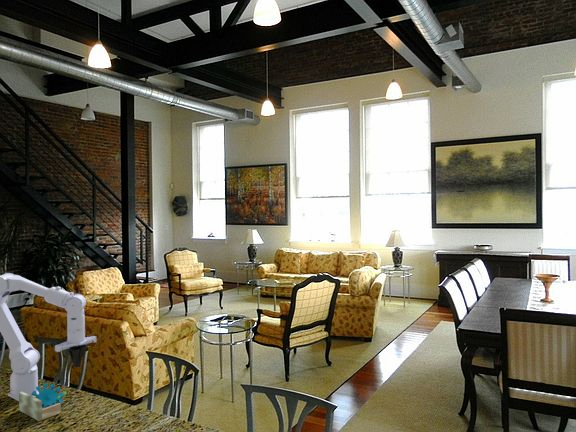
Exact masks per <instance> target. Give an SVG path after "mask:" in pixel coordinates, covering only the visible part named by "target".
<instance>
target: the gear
mask: <svg viewBox="0 0 576 432" xmlns="http://www.w3.org/2000/svg"><path fill="white" fill-rule="evenodd" d="M48 385H49V383H47V382H45V383H43V385H42V386H41V385H38V386H37V387H36V390H38V392H39V394H37V393H36V391H33V392H32V394H31V395H33V396H36V397H37V398H38V399H39V400H41V401H42V409H44V408H46V407H49V406H52V405H55V404H58V403H61V404H62V403H63V401H64V400H63V398H64V397H66V395H67V391H63V392H61V386H60V387H59V386H58V387H57V388H55V387H56V384H54V383H51V384H50V386H49V387H48ZM42 387H43V390H42V389H41V388H42ZM47 387H48V388H47ZM54 388H55V389H54ZM59 392H61V393H59Z"/></svg>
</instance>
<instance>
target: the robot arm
mask: <svg viewBox="0 0 576 432" xmlns="http://www.w3.org/2000/svg"><path fill="white" fill-rule="evenodd" d="M16 291H24V292H27V293H30V294H32V295H36V296H39V297H42V298H44V301H45V302H46V303H49V304H51V305H54V306H57V307H59V308H62V309H64V310H65V311H66V316H67V317H66V318H67V319H66V320H67V321H66V323H67V328H66V330H67V340H66V341H65V342H62V343H60V344H55V345H54V352H57V353H60V352H61V351H64V350H66V351H67V353H68V355H69V356H70V359H71V362H72V365H73V367H75V368H79V367H81V364H82V359H83V358H84V357H83V356H84V354H85V353H86V351H87V349H88V348H87V347H88V346H87V345H88V344H91V343H97V340H98V339H97V336H95V335H91V336H87V337H86V328H85V327H86V318H85V317H86V316H85V307H86V305H87V300H86V299H87V298H86V297H85V296H84V295H83V294H81V293H75V292H73V291H70V292H69V291H67V290H64V289H62V287H61V286H59V285H58V286H52V287H50V288H49V287H46V286H44V285H41V284H39V283H36V282H35V281H32V280H29V279H27V278H25V277H24V276H23V277H22V276H21V275H18V274H14V273H11V272H5V273H4V274H1V275H0V333H1V336H2V337H3V339H4V341H5V343H6V345H7V346H8V349H9V354H8V358H9V361H10V369H11V370H12V373H11V374H10V377H9V378H10V381H9V382H10V384H9V385H10V393H8V394H7V396H8V397H9V398H12V399H14V400H15V401H17V402H19V392H24V393H26V394H29V395H31V394H32V392H33V391H36V393H37V394H39V392H38V390H36V387H37V386H39V381H38V380H39V375H38V373H39V371H38V366H37V365H38V362H39V361H40V359H41V355H40V352H39V351H38V350H37V349H35V348H34V347H33V345H32V343H30V342H28V341H27V340H26V338H25V337H24V335H23V333H22V331H21V330H20V327H19V326H18V323H17V322H16V319H15V318H14V316H13V313H12V312H11V311H10V309H9V306H8V304H7V303H6V302H7V300H8V298H9V295H10V294H11V293H12V292H16ZM31 396H33V395H31ZM33 397H34V396H33Z"/></svg>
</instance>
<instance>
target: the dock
mask: <svg viewBox="0 0 576 432" xmlns="http://www.w3.org/2000/svg"><path fill="white" fill-rule="evenodd" d="M18 403H19V404H18V405H19V407H18V408H19V409H18V410H19V412H21V413H24V414H25V415H27V416H29V417H31V418H33V419H34V420H36V421H38V422H39V421H43V420H45V419H48V418H52V417H54V416H56V415H59V414H62V403H56V404H55V405H54V404H52V405H51V406H46V407H45V408H44V409H42V407H43V406H42V401H41V400H39V399H38V398H37V397H36V396H34V397H33V396H31V395H29V394H26V393H24V392H19V401H18Z"/></svg>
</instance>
